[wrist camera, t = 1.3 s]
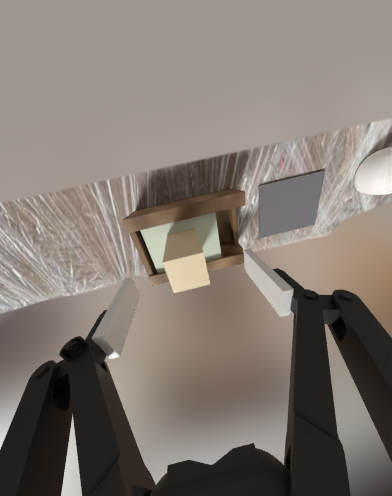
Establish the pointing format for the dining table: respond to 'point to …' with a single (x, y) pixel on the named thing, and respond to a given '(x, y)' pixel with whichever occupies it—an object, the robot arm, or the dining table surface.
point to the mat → (289, 203)
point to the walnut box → (185, 209)
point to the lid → (184, 250)
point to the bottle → (375, 173)
